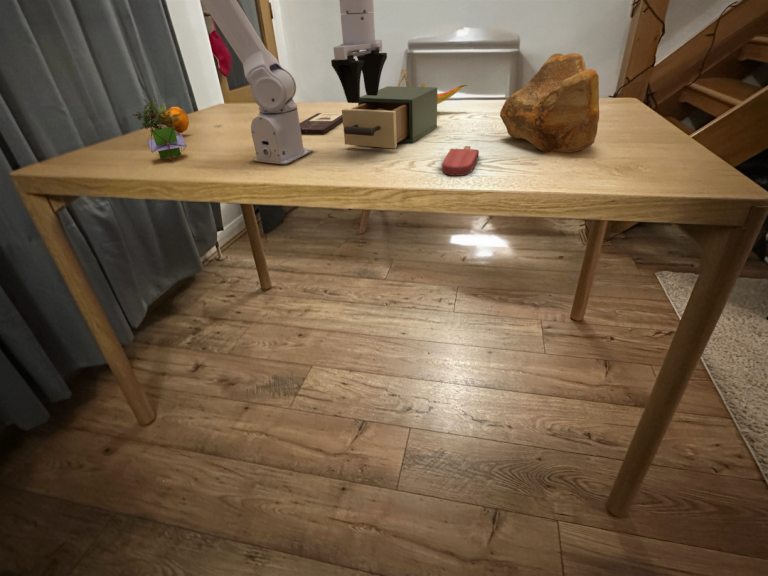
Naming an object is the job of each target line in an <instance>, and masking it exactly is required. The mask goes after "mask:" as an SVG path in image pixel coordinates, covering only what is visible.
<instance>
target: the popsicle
mask: <svg viewBox="0 0 768 576" xmlns="http://www.w3.org/2000/svg"><path fill="white" fill-rule="evenodd" d="M479 154H480V151H479V149H474V148H472V149H471V146H470V145H464V147H463V148H450V149H449V151H448V152H447V153H446V155H445V157H444V159H443V161H442V164H441V170H442V172H443V173H444V174H445V175H449V176H464V175H467V174H470V173H471V172H472V170H473V169H474V167H475V164H476V163H477V161H478V158H479V156H480V155H479Z"/></svg>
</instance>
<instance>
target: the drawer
mask: <svg viewBox="0 0 768 576" xmlns="http://www.w3.org/2000/svg"><path fill="white" fill-rule="evenodd" d="M379 108H381V109H385V110H376V109H379ZM341 113H342V118H343V122H342V127H343V136H344V145H347V146H360V147H373V148H383V149H396V148H398V143H401V142H400V141H401V140H403V139H404V138H406V137H408V136H409V104H408V103H382V102H366V103H363V104H361V105H358V104H357V105H356V106H353V107H351V108H343V109H341Z"/></svg>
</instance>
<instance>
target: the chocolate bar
mask: <svg viewBox="0 0 768 576" xmlns="http://www.w3.org/2000/svg"><path fill="white" fill-rule="evenodd" d="M299 123H300V129H301V135H304V134H305V135H325V134H326V133H328V132H329V131H331V130H332V129H334V128H335V127H337V126H338V125H340V124H341V123H343V118H342V112H317V113H315V114H313V115H312V116H310V117H308V118H306V119H305V120H303V121H300V122H299Z"/></svg>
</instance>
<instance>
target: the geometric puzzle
mask: <svg viewBox="0 0 768 576" xmlns="http://www.w3.org/2000/svg"><path fill="white" fill-rule="evenodd" d="M160 126H161V129H156V130H151V129H150V130H151V132H150V136H148V139H147V140H146V142H147V143H148V147H149V149H150V153H151V154H153V155H155V153H156V152H157V153H156V156H158V158H159V159H160V160H162V161H164V160H166V159H167V160H168V159H169V158H171V159H170V161H171V162H175V160H177V159H179V157H182V156H183V155H182V154H183V153H184V152H183V151H185V150H186V148H187V147H188V145H187V143H186V141H185V139H184V137H183V134H182V133H178V132H177V131H175V130H174V129H175V128H174V127H170V126H169V127H167V126H164V125H160ZM182 148H183V149H182ZM174 158H175V159H174Z"/></svg>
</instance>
